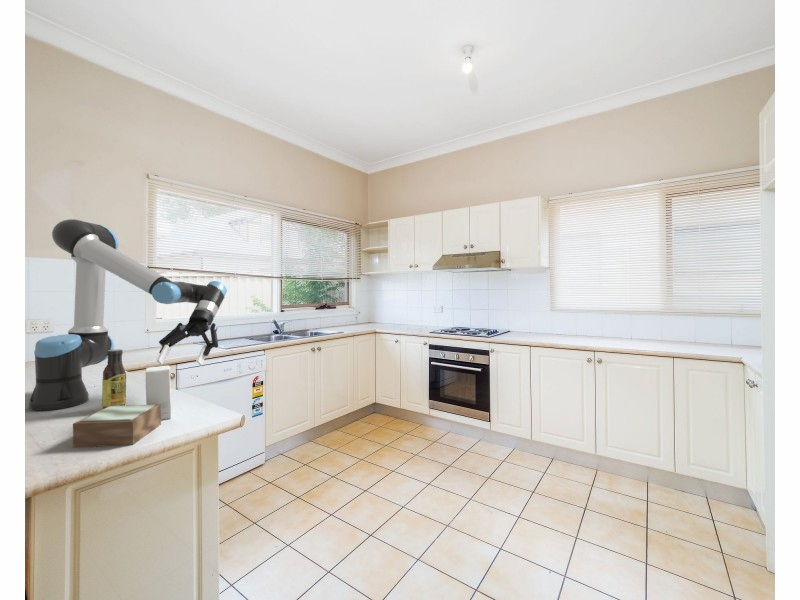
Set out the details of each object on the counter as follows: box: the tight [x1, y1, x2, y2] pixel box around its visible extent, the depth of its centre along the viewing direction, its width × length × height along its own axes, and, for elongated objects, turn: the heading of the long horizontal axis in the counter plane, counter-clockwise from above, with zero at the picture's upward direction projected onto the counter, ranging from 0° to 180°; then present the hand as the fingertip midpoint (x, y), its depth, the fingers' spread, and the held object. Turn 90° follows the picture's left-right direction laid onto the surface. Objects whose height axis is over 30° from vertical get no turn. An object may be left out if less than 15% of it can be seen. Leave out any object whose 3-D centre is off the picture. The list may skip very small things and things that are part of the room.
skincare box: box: [145, 365, 172, 421], centre depth 114 cm, size 8×7×16 cm
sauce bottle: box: [101, 348, 127, 410], centre depth 121 cm, size 7×6×20 cm
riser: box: [72, 404, 162, 448], centre depth 100 cm, size 14×14×6 cm
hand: (178, 362), depth 123 cm, fingers open, 13 cm apart
